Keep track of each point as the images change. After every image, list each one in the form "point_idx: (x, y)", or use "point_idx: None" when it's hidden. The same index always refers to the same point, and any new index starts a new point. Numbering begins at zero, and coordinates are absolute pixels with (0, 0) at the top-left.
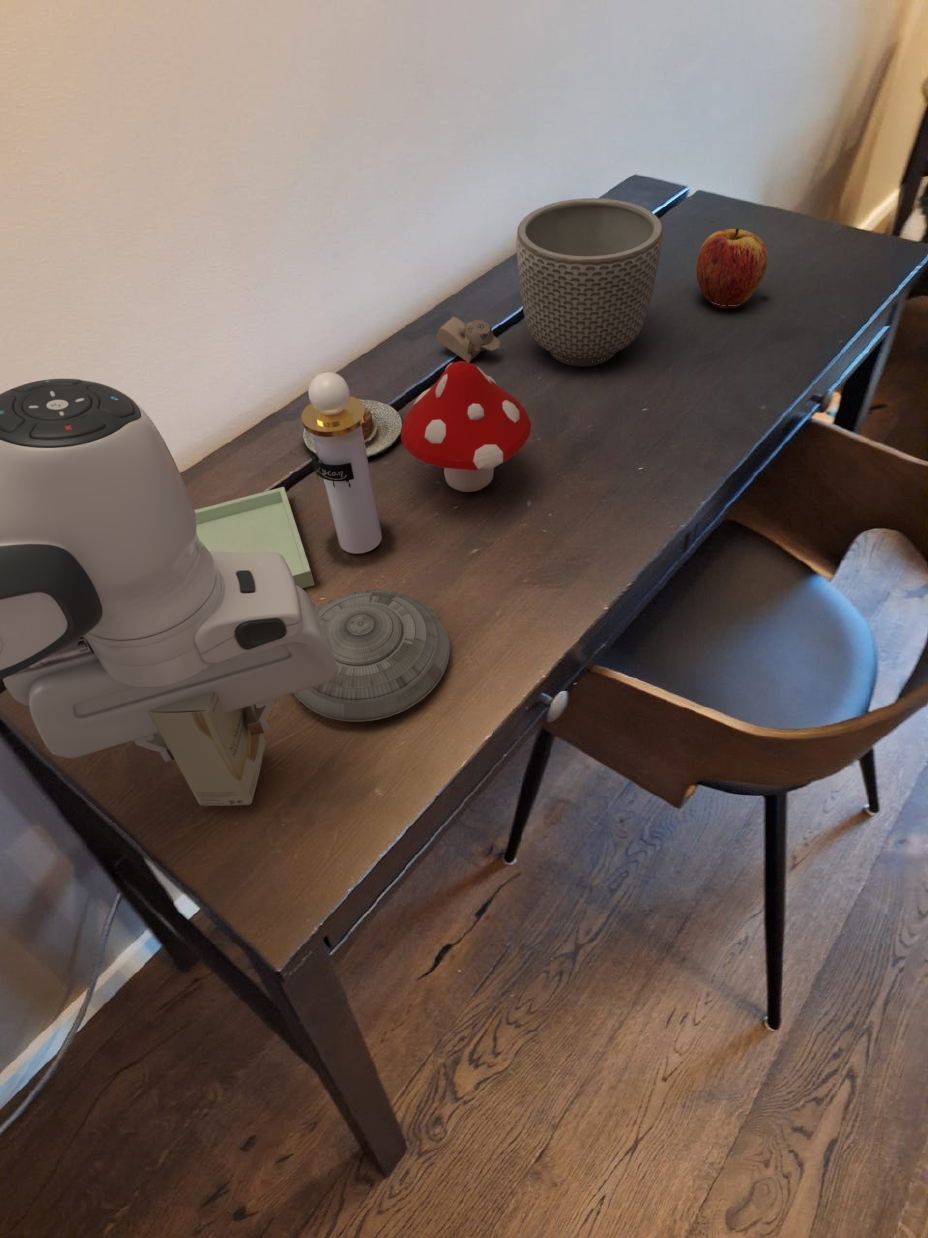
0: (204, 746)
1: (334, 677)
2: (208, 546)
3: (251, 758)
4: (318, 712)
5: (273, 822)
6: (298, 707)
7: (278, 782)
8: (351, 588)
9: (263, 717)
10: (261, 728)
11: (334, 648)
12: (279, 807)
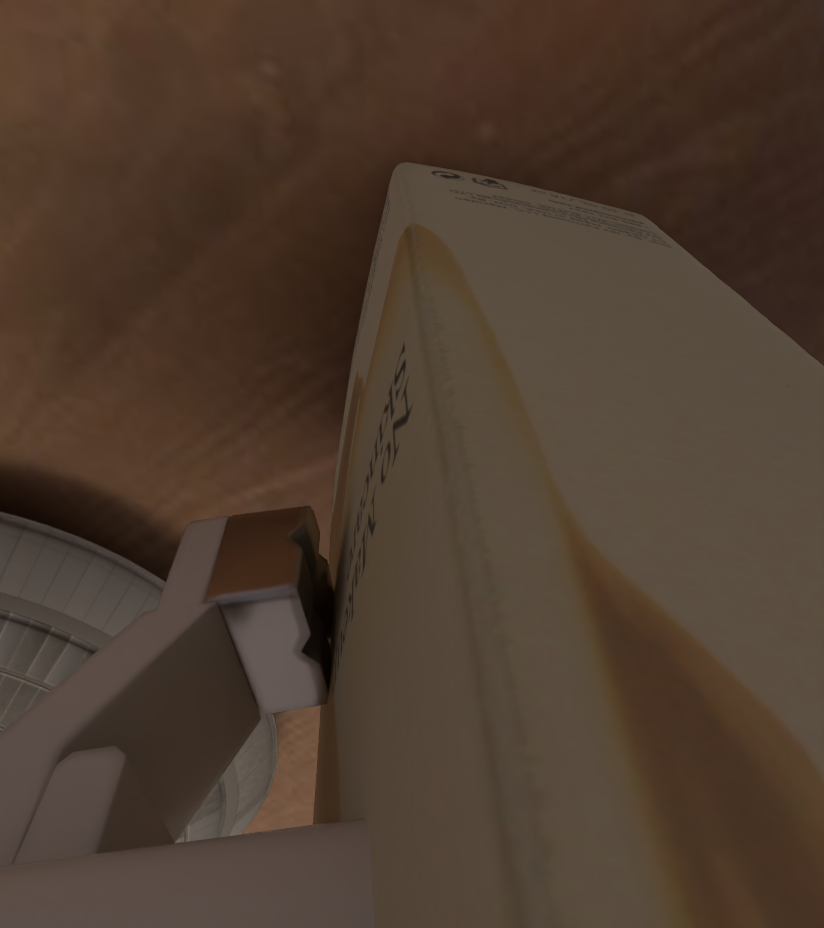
0: (662, 462)
1: (5, 707)
2: None
3: (357, 386)
4: (125, 562)
5: (316, 92)
6: None
7: (300, 298)
8: None
9: (153, 632)
10: (223, 546)
11: None
12: (291, 170)
